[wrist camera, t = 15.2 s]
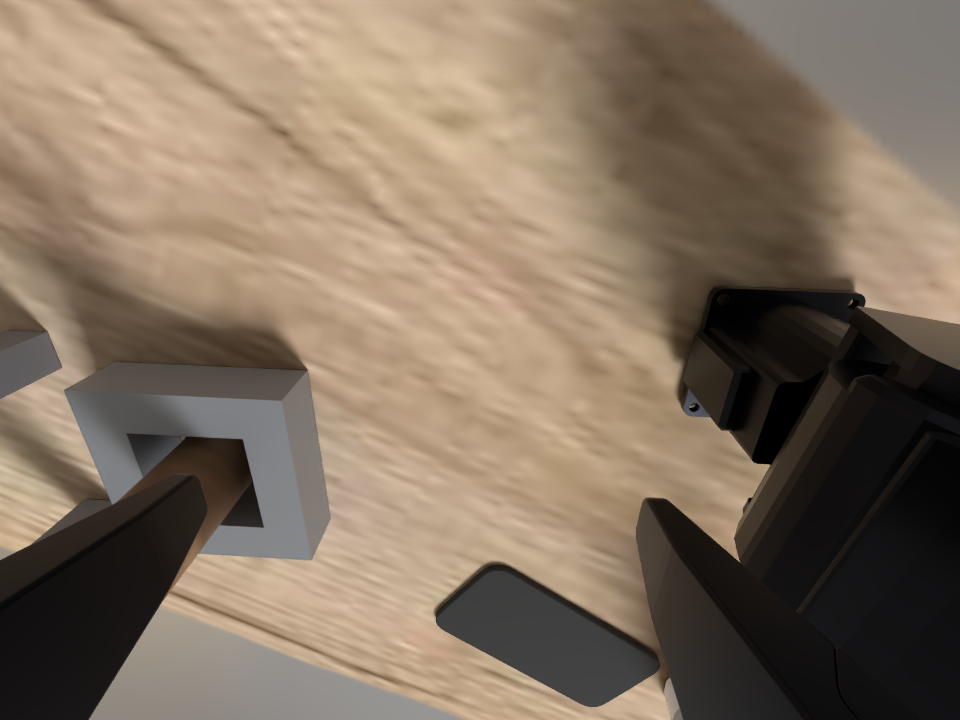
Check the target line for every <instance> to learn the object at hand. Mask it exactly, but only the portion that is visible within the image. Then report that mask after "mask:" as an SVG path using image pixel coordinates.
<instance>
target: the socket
mask: <svg viewBox="0 0 960 720" xmlns="http://www.w3.org/2000/svg"><path fill="white" fill-rule="evenodd" d="M64 392H65V395H66V397H67V399H68V402H69V404H70V406H71V409H72V411H73V413H74V416H75V418H76V421H77V423H78V425H79V428H80V430H81V432H82V435H83V437H84V439H85V442H86V444H87V446H88V449H89V451H90V454H91V456H92V458H93V461H94V463H95V465H96V468H97V470H98V472H99V475H100V477H101V479H102V482H103V484H104V487H105V489H106V491H107V494H108V496H109V498H110V501H111V503H112V504H114V503H116V502H117V501H118V500H119V499H120V498H121V497H122V496H123V495H125V494H126V493H127V492H128V491H129V490H130V489H131V488H132V487H133V486H134V485H135V484H136V483H138V482H139V481H140V480H141V479H142V478H143V477H144V476H145V475H146V474H147V473H148V472H150V471H151V470H152V469H153V468H154V467H155V466H156V465H157V464H158V463H159V462H160V461H161V460H163V459H164V458H165V457H166V456H167V455H168V454H169V453H170V452H171V451H172V450H173V449H174V448H176V447H177V446H178V445H179V444H180V443H181V442H182V441H181V438H180V436H190V437H210V438H230V439H243V442H244V446H245V450H246V454H247V459H248V463H249V467H250V471H251V475H252V479H253V483H254V487H253V486H248V488H247V489H246V490H245V492H244V493H243V494H242V496H241V497H240V498H239V500H238V501H237V502H236V504H235V505H234V506H233V508H232V509H231V510H230V512H229V513H228V514H227V516H226V517H225V518H224V520H223V521H222V522H221V524H220V525H219V526H218V528H217V529H216V530H215V532H214V533H213V534H212V536H211V537H210V538H209V540H208V541H207V543H206V544H205V545H204V547H203V548H202V549H201V551H200V552H199V553H198V554H213V555H230V556H247V557H264V558H281V559H298V560H312V558H313V556H314V554H315V552H316V549H317V547H318V545H319V543H320V541H321V539H322V536H323V534H324V532H325V530H326V528H327V526H328V523H329V521H330V519H331V518H330V512H329V505H328V499H327V492H326V486H325V479H324V473H323V466H322V460H321V453H320V447H319V440H318V434H317V427H316V421H315V414H314V408H313V401H312V395H311V388H310V382H309V375H308V371H307V370H285V369H263V368H242V367H220V366H198V365H176V364H155V363H133V362H114V363H112V364H110V365H108V366H107V367H105V368H103V369H101V370H99V371H98V372H96V373H94V374H92V375H90V376H89V377H87V378H85V379H83V380H81V381H80V382H78V383H76V384H74V385H72V386H71V387H69V388H67V389H65V390H64Z"/></svg>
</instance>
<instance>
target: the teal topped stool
mask: <svg viewBox="0 0 960 720" xmlns="http://www.w3.org/2000/svg"><path fill="white" fill-rule="evenodd" d="M61 368H62V367H61V364H60V362H59V359H58V357H57V355H56V352H55V350H54V347H53V345H52V342H51V340H50V338H49V335H48V333H47V332H36V331H13V330H8V331H5V332H3V333H0V399H1V398H3V397H5V396H7V395H9V394H11V393H13V392H15V391H17V390H19V389H21V388H23V387H25V386H27V385H29V384H31V383H33V382H35V381H37V380H39V379H41V378H43V377H45V376H47V375H49V374H51V373H53V372H55V371H57V370H59V369H61ZM110 505H112V503H111V501H110V500H94V499H85V500H83V501H82V502H81V503H80V504H79V505H78V506H76V507H75V508H74V509H73V510H72V511H70V512H69V513H68V514H67V515H66V516H65V517H63V518H62V519H61V520H60V521H59V522H57V523H56V524H55V525H54V526H53V527H52V528H50V529H49V530H48V531H47V532H46V533H44V534H43V535H42V536H41V537H40V538H39V539H37V540H36V541H35V542H34V543H36V542H38V541H40V540H42V539H44V538H46V537H48V536H50V535H52V534H54V533H56V532H58V531H60V530H62V529H64V528H66V527H68V526H70V525H72V524H74V523H76V522H78V521H80V520H82V519H84V518H86V517H88V516H90V515H92V514H94V513H96V512H98V511H100V510H102V509H104V508H106V507H108V506H110ZM34 543H33V544H34ZM31 545H32V544H31Z"/></svg>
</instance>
